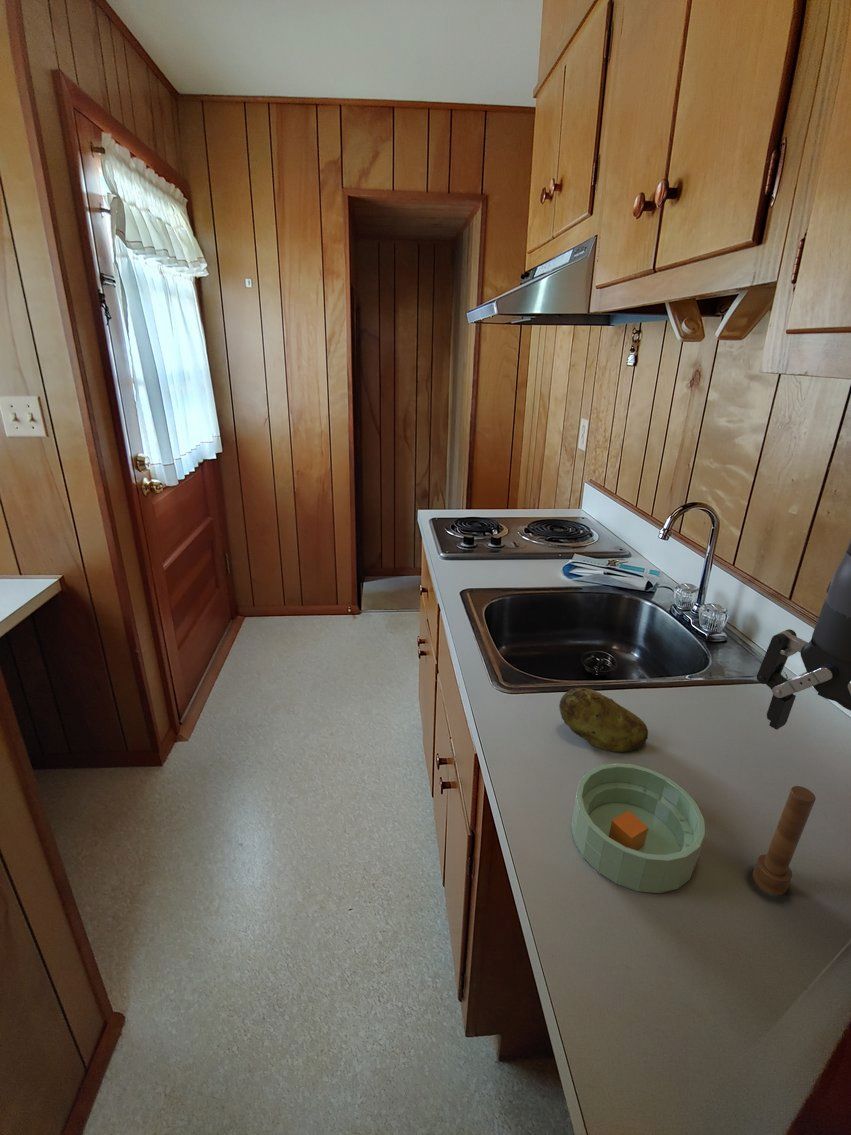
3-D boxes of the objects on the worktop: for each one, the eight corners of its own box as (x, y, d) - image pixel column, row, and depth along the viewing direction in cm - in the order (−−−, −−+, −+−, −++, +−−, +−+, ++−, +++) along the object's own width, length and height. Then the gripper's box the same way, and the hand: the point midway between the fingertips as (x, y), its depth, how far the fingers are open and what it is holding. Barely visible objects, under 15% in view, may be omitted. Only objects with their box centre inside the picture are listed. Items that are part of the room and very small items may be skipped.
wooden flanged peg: (761, 867, 65) (794, 776, 60) (790, 890, 63) (829, 797, 57) (744, 880, 64) (778, 789, 58) (774, 904, 61) (812, 811, 55)
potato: (633, 774, 79) (643, 729, 76) (549, 738, 85) (555, 696, 82) (648, 742, 85) (658, 699, 82) (568, 711, 92) (574, 670, 88)
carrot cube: (624, 827, 69) (628, 810, 68) (644, 845, 67) (648, 827, 66) (608, 838, 68) (611, 820, 67) (627, 856, 65) (632, 838, 64)
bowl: (622, 782, 77) (629, 749, 75) (719, 860, 66) (731, 824, 64) (546, 826, 70) (552, 790, 68) (640, 921, 59) (650, 883, 57)
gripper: (997, 631, 45) (921, 781, 52) (812, 570, 56) (768, 700, 63) (964, 655, 42) (886, 814, 48) (772, 585, 53) (731, 721, 59)
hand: (820, 749), depth 55 cm, fingers open, 8 cm apart
